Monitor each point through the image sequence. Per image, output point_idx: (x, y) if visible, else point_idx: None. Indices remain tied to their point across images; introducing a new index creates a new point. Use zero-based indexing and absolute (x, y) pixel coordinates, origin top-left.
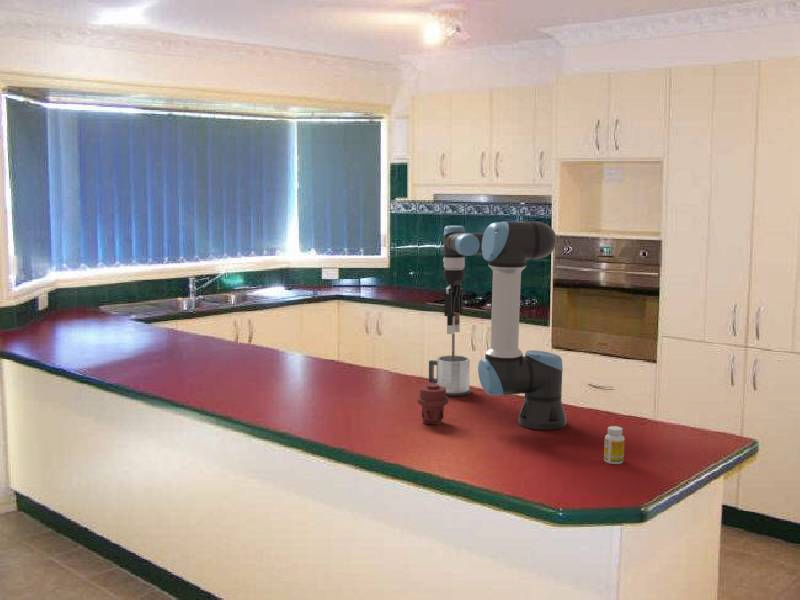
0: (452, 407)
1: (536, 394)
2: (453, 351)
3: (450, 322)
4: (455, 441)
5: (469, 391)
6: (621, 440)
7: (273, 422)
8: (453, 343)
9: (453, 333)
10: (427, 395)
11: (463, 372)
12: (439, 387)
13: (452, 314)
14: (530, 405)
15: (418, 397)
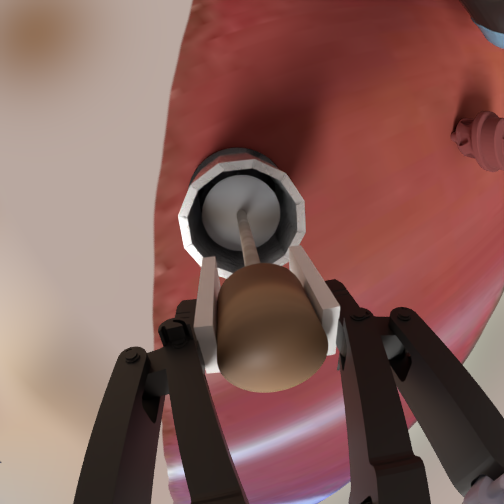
0: (371, 133)
1: None
2: (250, 230)
3: (346, 295)
4: (499, 83)
5: (232, 148)
6: None
7: (479, 322)
8: (254, 243)
9: (302, 250)
10: None
11: (262, 161)
12: (502, 133)
13: (374, 318)
14: None
15: (497, 169)
